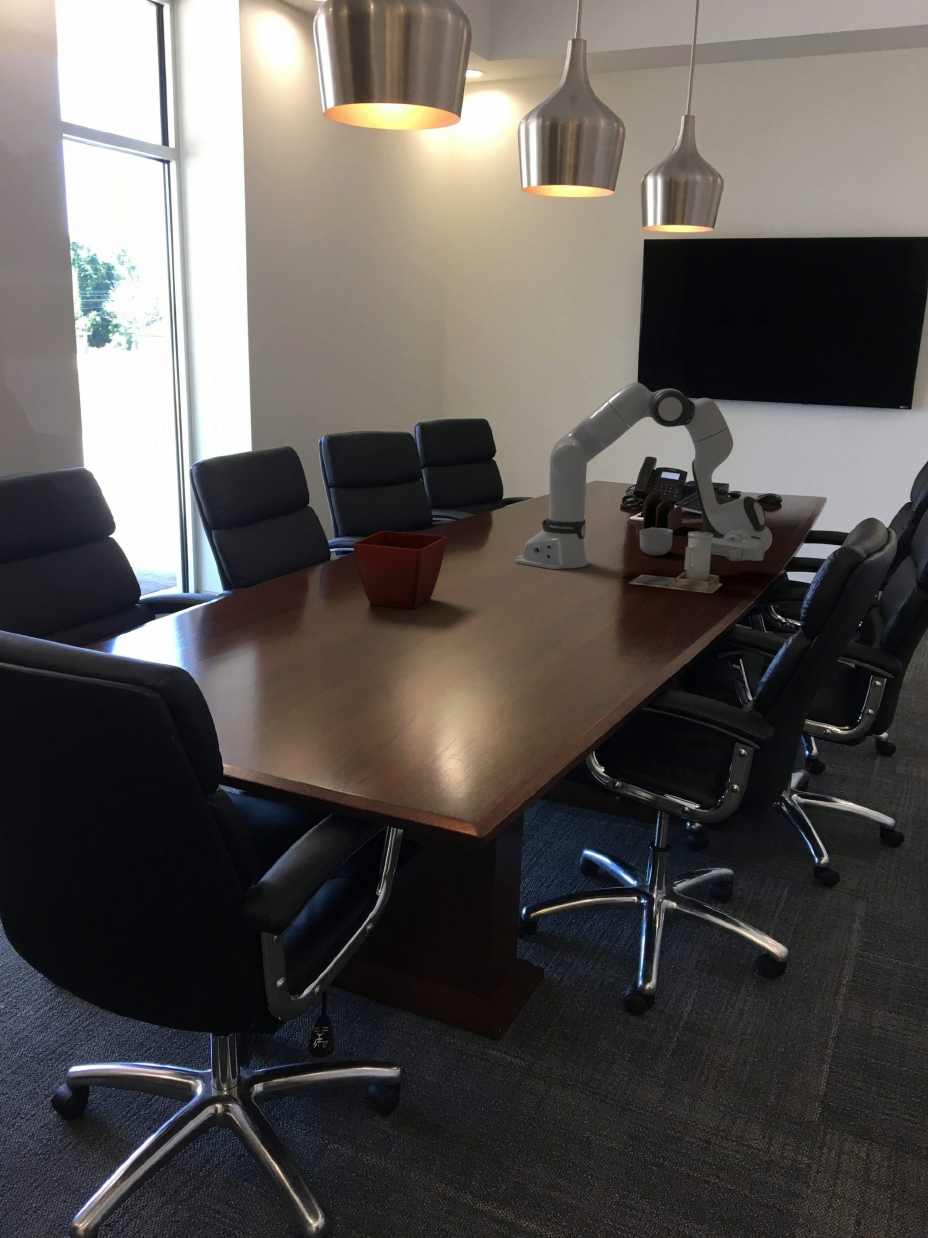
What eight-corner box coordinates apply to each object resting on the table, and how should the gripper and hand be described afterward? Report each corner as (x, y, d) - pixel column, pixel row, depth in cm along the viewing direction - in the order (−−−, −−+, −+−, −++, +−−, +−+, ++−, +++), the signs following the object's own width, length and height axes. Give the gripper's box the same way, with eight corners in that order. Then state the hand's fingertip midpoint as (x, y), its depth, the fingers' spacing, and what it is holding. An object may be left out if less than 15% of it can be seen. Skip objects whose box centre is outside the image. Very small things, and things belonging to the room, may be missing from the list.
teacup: (671, 558, 327) (672, 533, 324) (637, 556, 329) (639, 532, 326) (671, 549, 340) (673, 526, 338) (639, 548, 342) (640, 524, 340)
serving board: (627, 587, 286) (628, 574, 285) (641, 578, 297) (641, 566, 296) (712, 597, 276) (713, 584, 275) (722, 587, 287) (723, 575, 286)
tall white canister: (692, 582, 288) (696, 530, 284) (713, 586, 284) (717, 533, 280) (674, 587, 281) (678, 534, 277) (695, 591, 277) (699, 538, 273)
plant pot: (419, 614, 254) (420, 549, 249) (352, 606, 260) (351, 542, 256) (447, 597, 271) (447, 536, 267) (382, 590, 277) (382, 530, 273)
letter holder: (641, 532, 371) (644, 494, 367) (656, 524, 388) (658, 488, 385) (668, 535, 367) (671, 496, 363) (681, 527, 384) (684, 490, 380)
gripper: (707, 530, 303) (682, 535, 293) (769, 540, 289) (746, 546, 280) (705, 550, 305) (681, 557, 295) (767, 561, 291) (744, 568, 281)
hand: (713, 551), depth 287 cm, fingers open, 8 cm apart
